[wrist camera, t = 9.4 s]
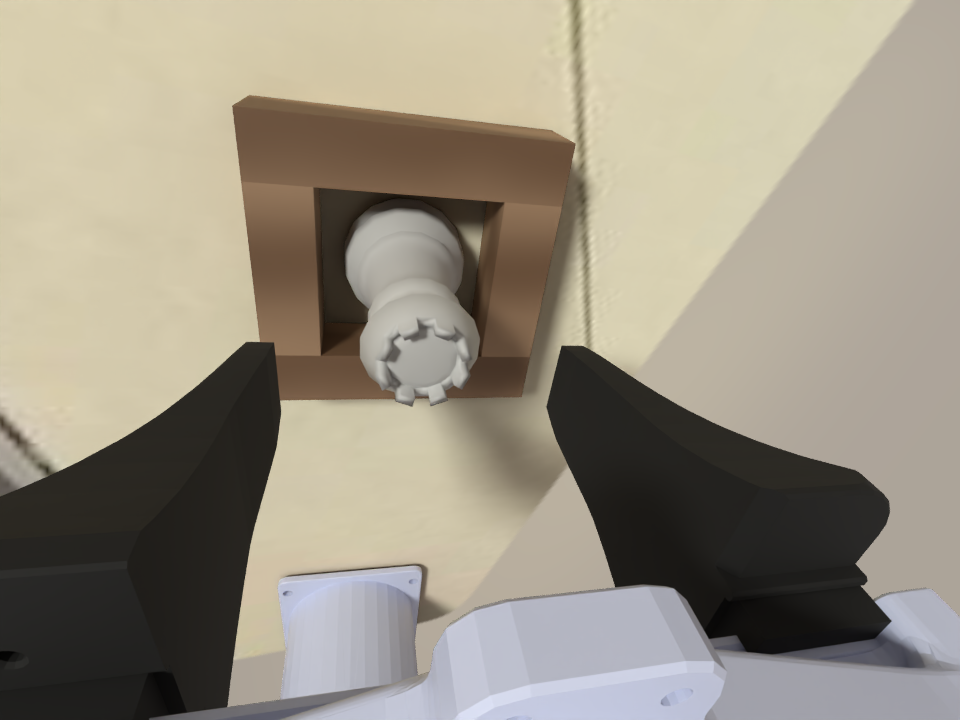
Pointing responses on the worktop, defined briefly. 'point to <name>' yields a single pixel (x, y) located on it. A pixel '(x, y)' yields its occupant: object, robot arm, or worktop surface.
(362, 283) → the rook chess piece
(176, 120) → the worktop surface
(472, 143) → the walnut docking collar
